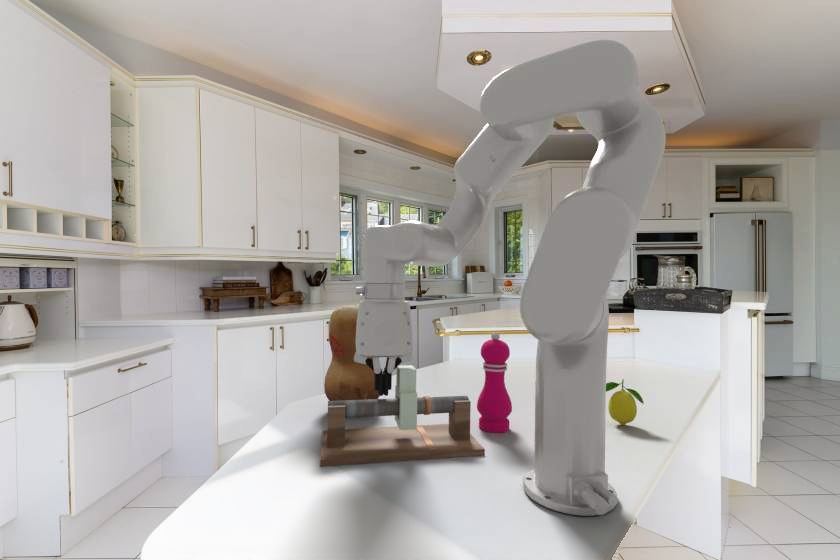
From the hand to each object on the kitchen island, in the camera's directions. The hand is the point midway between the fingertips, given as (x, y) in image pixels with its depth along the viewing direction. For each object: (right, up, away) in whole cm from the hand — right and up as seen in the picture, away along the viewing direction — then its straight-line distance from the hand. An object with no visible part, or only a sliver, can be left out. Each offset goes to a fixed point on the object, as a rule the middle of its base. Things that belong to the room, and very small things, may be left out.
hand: (382, 393), depth 76 cm
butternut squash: (-8, -10, +21) cm, 24 cm away
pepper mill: (+22, -10, +11) cm, 27 cm away
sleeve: (+4, -6, +1) cm, 7 cm away
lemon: (+50, -11, +14) cm, 53 cm away
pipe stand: (+3, -10, +1) cm, 10 cm away
